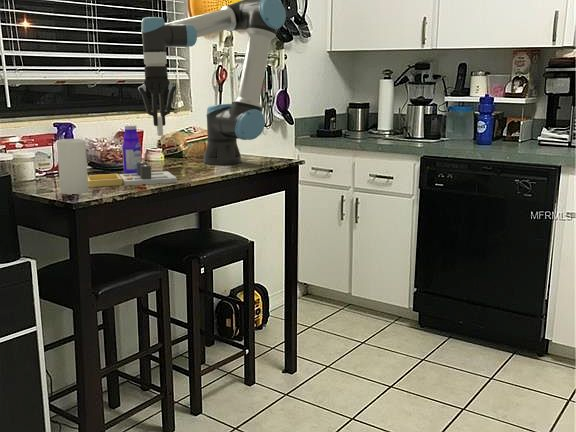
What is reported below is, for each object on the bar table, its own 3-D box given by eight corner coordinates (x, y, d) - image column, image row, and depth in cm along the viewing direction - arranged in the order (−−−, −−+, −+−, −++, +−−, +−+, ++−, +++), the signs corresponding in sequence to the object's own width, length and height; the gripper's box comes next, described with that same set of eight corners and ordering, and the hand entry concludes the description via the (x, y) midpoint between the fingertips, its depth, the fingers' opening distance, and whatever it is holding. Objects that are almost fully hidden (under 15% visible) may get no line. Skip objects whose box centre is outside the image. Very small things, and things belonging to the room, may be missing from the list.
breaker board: (168, 175, 222) (167, 169, 222) (176, 182, 210) (176, 176, 209) (119, 178, 216) (118, 172, 216) (125, 185, 203) (124, 179, 203)
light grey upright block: (93, 192, 193) (90, 140, 190) (69, 196, 187) (65, 142, 184) (79, 188, 199) (76, 138, 195) (55, 192, 193) (51, 140, 189)
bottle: (136, 175, 221) (133, 126, 217) (121, 175, 222) (118, 126, 218) (144, 172, 228) (142, 124, 224) (130, 171, 229) (127, 124, 225)
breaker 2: (149, 176, 210) (149, 164, 209) (151, 178, 208) (150, 166, 207) (140, 177, 209) (140, 165, 208) (142, 178, 207) (141, 166, 206)
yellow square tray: (117, 179, 214) (117, 173, 214) (122, 184, 205) (121, 178, 204) (85, 181, 210) (85, 175, 210) (88, 187, 201) (88, 180, 200)
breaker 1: (145, 173, 217) (145, 161, 216) (147, 174, 214) (146, 162, 213) (137, 173, 216) (136, 162, 215) (138, 175, 213) (138, 163, 212)
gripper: (172, 64, 216) (176, 132, 222) (134, 65, 211) (139, 135, 217) (177, 65, 209) (181, 135, 215) (137, 66, 204) (143, 137, 211)
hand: (160, 135), depth 216 cm, fingers closed
